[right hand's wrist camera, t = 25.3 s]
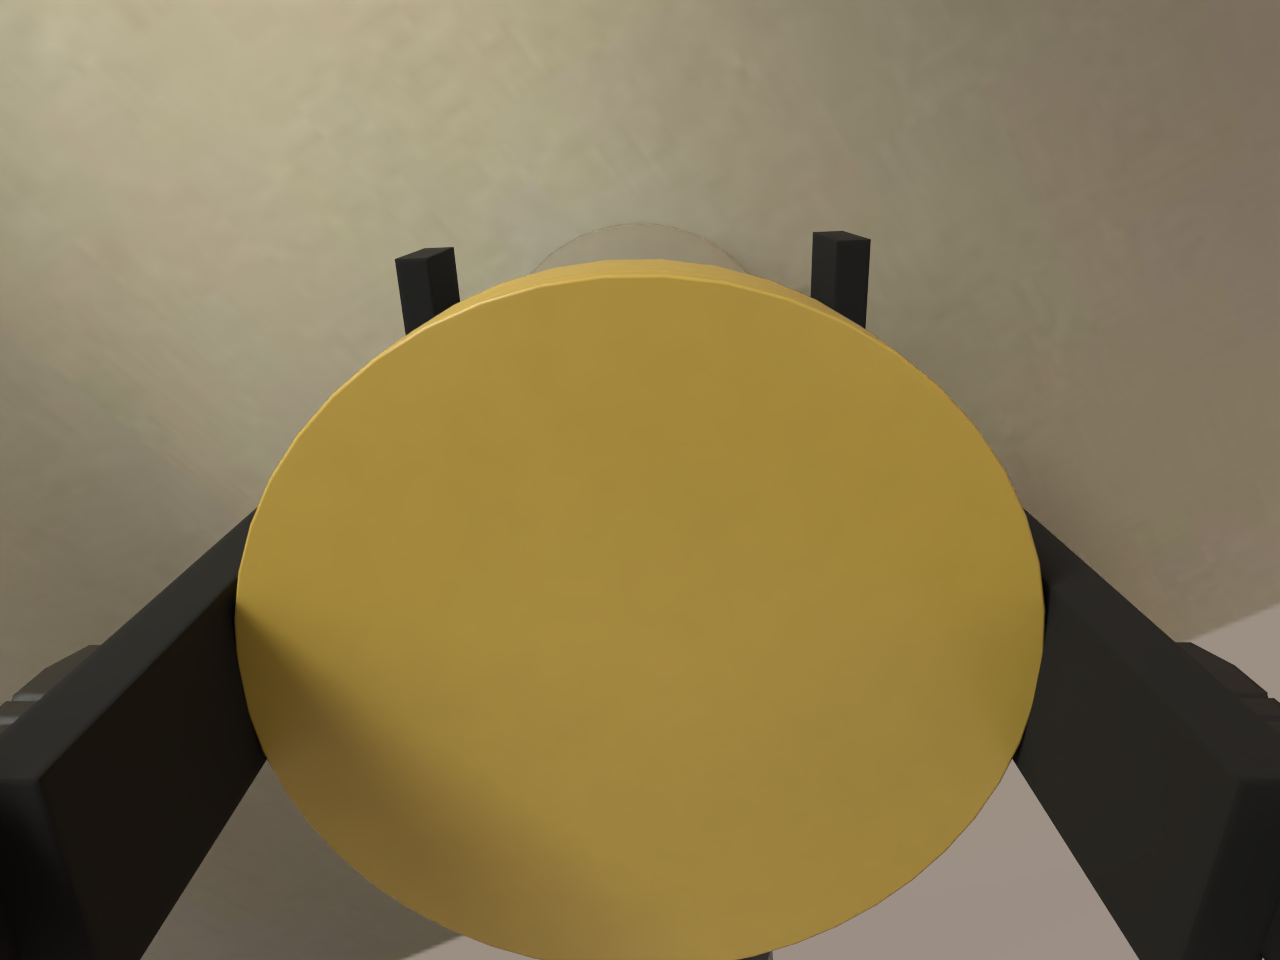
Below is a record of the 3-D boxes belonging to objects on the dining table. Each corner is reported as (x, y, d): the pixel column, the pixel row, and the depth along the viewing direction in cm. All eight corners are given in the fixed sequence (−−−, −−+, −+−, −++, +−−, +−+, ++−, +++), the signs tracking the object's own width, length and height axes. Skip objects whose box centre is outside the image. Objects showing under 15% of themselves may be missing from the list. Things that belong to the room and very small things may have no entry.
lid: (176, 704, 12) (112, 779, 11) (509, 81, 9) (484, 65, 8) (724, 967, 14) (734, 1060, 13) (1147, 524, 11) (1224, 579, 10)
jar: (617, 546, 29) (593, 984, 13) (441, 346, 27) (157, 600, 11) (833, 392, 27) (1098, 696, 11) (665, 158, 25) (711, 139, 9)
